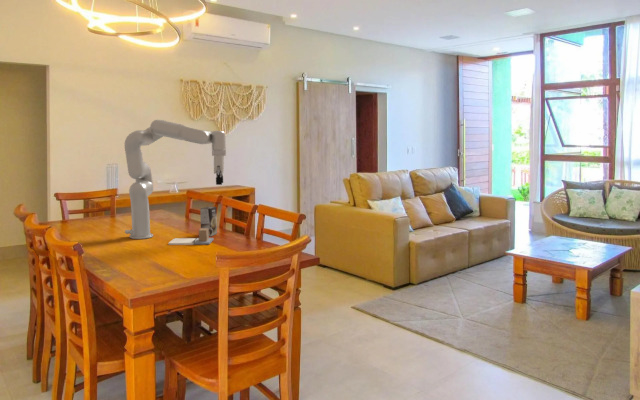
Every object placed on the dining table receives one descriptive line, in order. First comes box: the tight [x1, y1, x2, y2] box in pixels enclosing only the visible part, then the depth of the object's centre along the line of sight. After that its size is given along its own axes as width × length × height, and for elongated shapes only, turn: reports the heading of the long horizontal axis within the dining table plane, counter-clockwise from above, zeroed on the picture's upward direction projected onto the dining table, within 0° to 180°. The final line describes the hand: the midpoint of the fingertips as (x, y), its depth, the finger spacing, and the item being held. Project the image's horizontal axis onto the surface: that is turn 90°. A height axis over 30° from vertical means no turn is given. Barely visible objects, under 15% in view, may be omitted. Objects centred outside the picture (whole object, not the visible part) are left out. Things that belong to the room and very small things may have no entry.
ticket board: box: [168, 237, 199, 246], centre depth 266 cm, size 13×12×1 cm
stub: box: [194, 227, 214, 245], centre depth 266 cm, size 8×12×7 cm, turn 2°
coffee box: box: [199, 206, 218, 237], centre depth 285 cm, size 9×6×16 cm
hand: (219, 183), depth 276 cm, fingers open, 9 cm apart
